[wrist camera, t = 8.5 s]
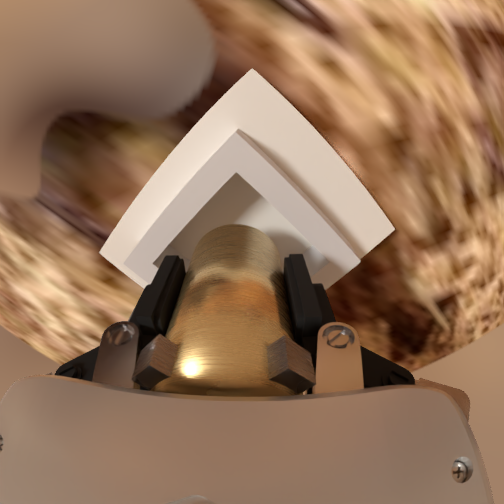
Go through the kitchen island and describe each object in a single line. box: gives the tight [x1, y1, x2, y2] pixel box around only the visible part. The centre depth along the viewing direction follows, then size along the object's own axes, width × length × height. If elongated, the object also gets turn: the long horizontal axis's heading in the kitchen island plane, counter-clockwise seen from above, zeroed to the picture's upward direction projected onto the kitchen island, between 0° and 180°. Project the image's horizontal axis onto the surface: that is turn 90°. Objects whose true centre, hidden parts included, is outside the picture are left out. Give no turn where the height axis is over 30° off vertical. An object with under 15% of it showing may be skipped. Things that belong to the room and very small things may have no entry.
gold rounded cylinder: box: [131, 224, 316, 397], centre depth 10 cm, size 5×5×8 cm
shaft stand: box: [99, 69, 395, 322], centre depth 17 cm, size 17×18×4 cm
